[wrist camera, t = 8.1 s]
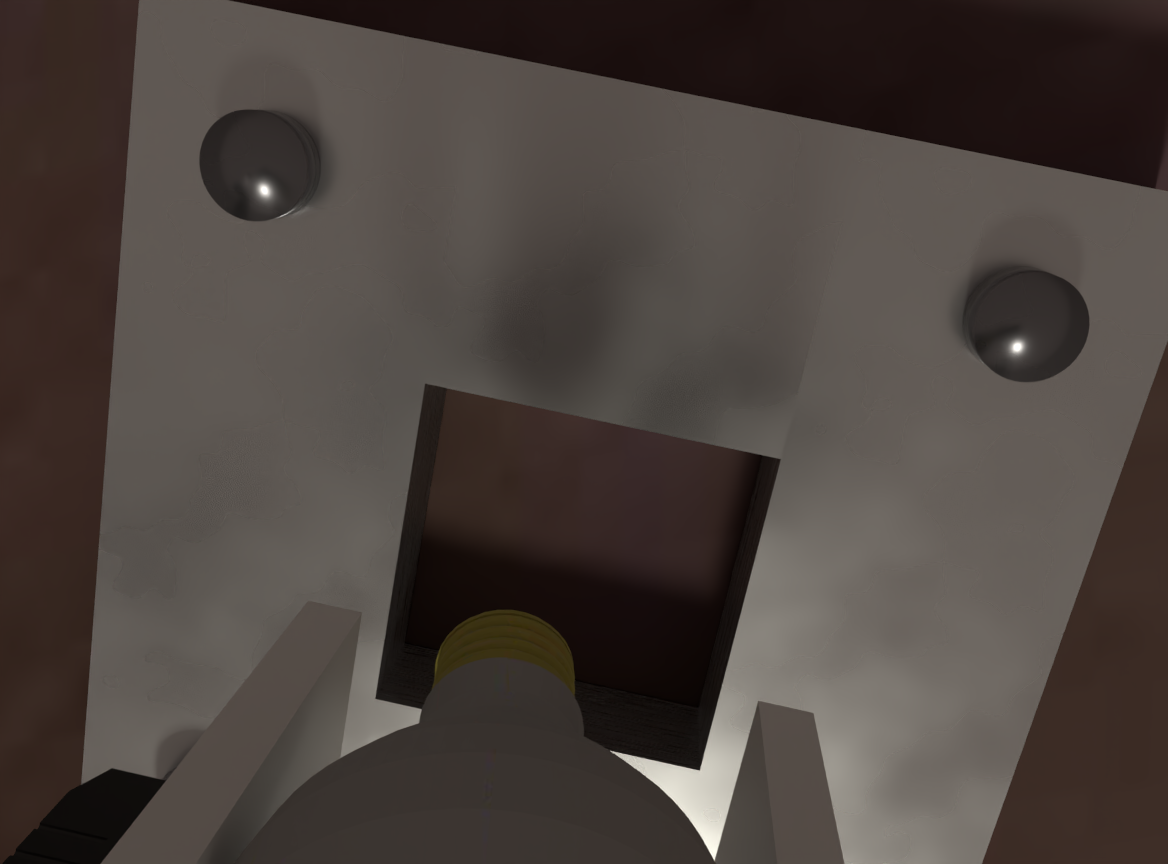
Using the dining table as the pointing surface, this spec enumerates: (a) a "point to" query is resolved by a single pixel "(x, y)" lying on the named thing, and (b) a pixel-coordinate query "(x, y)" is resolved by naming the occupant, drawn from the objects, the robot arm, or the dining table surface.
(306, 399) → the flange
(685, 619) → the dining table surface
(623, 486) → the dining table surface
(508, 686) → the light bulb
